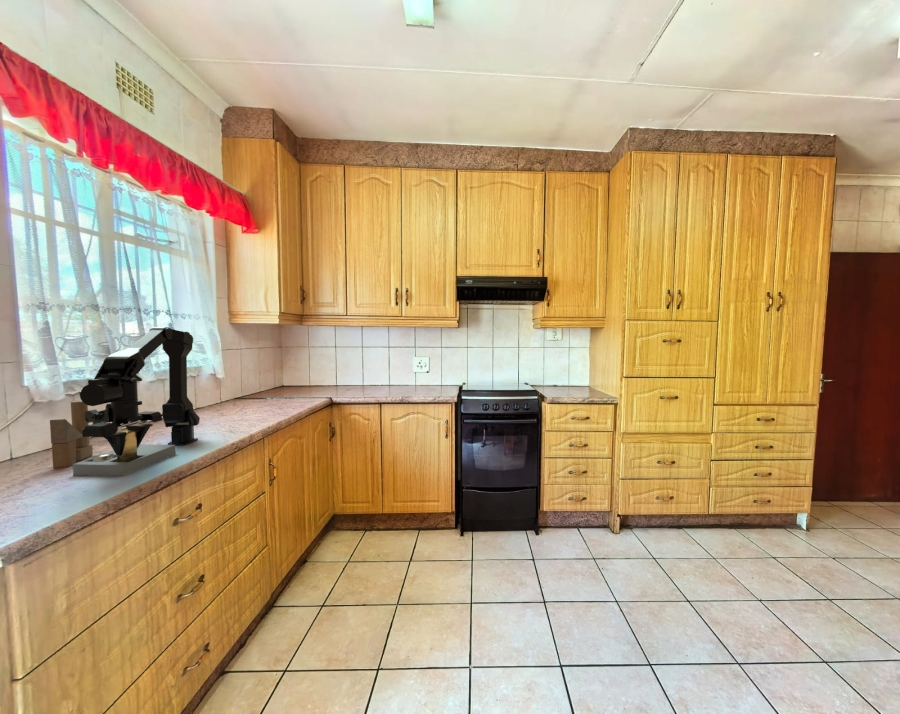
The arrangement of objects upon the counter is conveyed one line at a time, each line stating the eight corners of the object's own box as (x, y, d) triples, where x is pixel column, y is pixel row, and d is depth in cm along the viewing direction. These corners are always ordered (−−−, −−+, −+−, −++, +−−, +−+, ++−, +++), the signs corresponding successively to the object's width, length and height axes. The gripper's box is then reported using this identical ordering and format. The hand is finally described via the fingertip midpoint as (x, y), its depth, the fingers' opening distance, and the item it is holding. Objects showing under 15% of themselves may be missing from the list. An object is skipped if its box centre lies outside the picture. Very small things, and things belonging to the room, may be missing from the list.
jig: (133, 453, 115) (133, 444, 115) (175, 453, 115) (175, 444, 114) (73, 475, 97) (72, 464, 97) (123, 475, 97) (122, 465, 96)
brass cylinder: (127, 456, 104) (125, 429, 103) (141, 456, 104) (140, 430, 103) (112, 462, 99) (111, 434, 99) (127, 462, 99) (126, 434, 99)
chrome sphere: (104, 465, 104) (103, 452, 104) (118, 465, 104) (118, 452, 104) (88, 471, 100) (87, 457, 99) (103, 471, 100) (103, 457, 99)
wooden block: (52, 468, 101) (48, 406, 100) (79, 456, 112) (76, 400, 111) (68, 467, 103) (64, 406, 101) (93, 455, 113) (90, 399, 112)
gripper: (127, 393, 110) (129, 442, 111) (59, 405, 91) (63, 464, 92) (162, 393, 110) (164, 442, 111) (101, 405, 91) (105, 464, 92)
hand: (127, 452), depth 101 cm, fingers closed on brass cylinder, 4 cm apart
